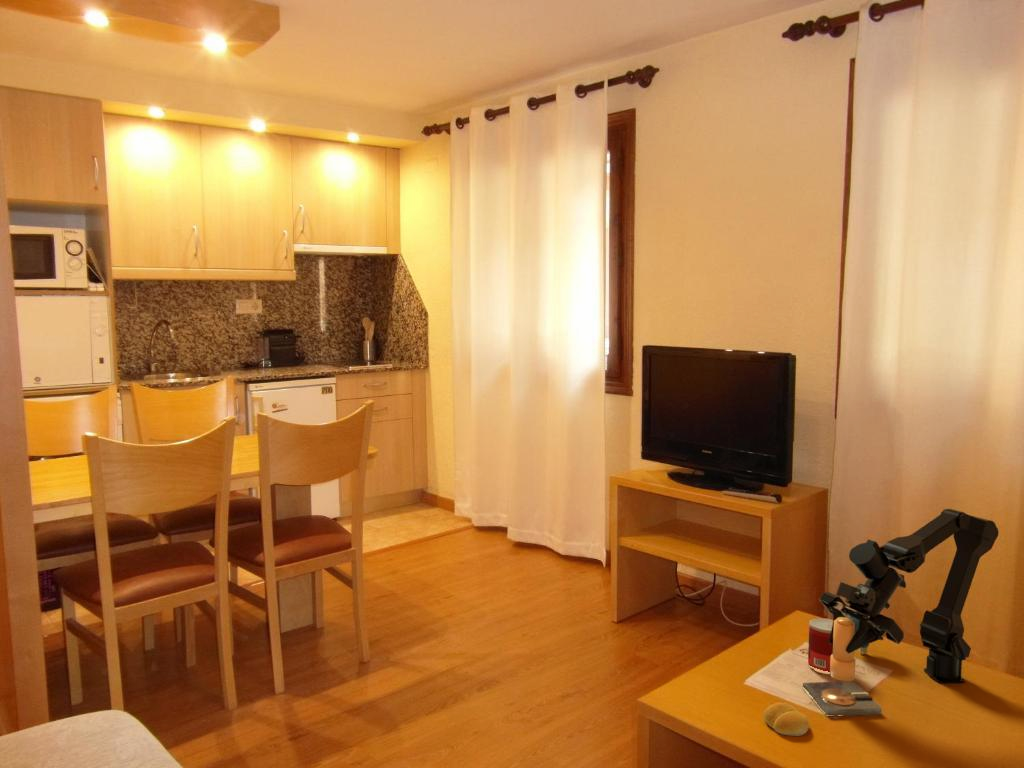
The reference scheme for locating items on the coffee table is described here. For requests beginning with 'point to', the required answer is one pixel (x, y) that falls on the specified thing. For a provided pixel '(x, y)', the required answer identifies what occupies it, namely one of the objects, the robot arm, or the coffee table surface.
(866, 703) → the plate
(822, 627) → the canned food
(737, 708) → the coffee table surface
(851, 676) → the tapered peach knob
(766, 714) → the bread roll
